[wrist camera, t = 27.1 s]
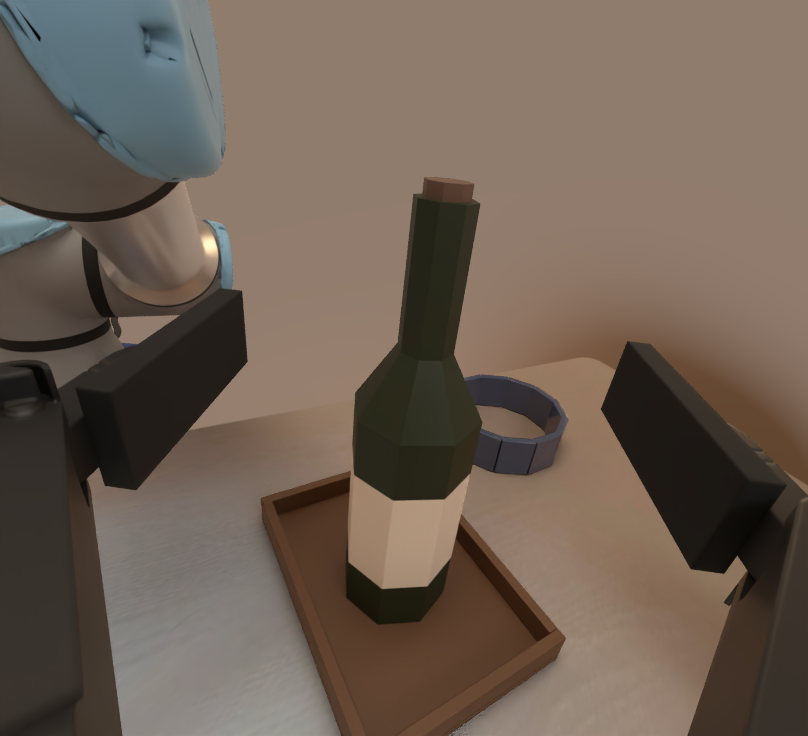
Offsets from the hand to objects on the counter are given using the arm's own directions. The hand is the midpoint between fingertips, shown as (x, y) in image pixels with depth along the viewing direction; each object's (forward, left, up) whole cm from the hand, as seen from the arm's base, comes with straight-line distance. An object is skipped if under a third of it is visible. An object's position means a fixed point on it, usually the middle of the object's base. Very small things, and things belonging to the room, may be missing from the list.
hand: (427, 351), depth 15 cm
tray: (-8, +6, -26) cm, 28 cm away
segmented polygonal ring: (-20, +28, -26) cm, 43 cm away
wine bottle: (-8, +6, -26) cm, 27 cm away
